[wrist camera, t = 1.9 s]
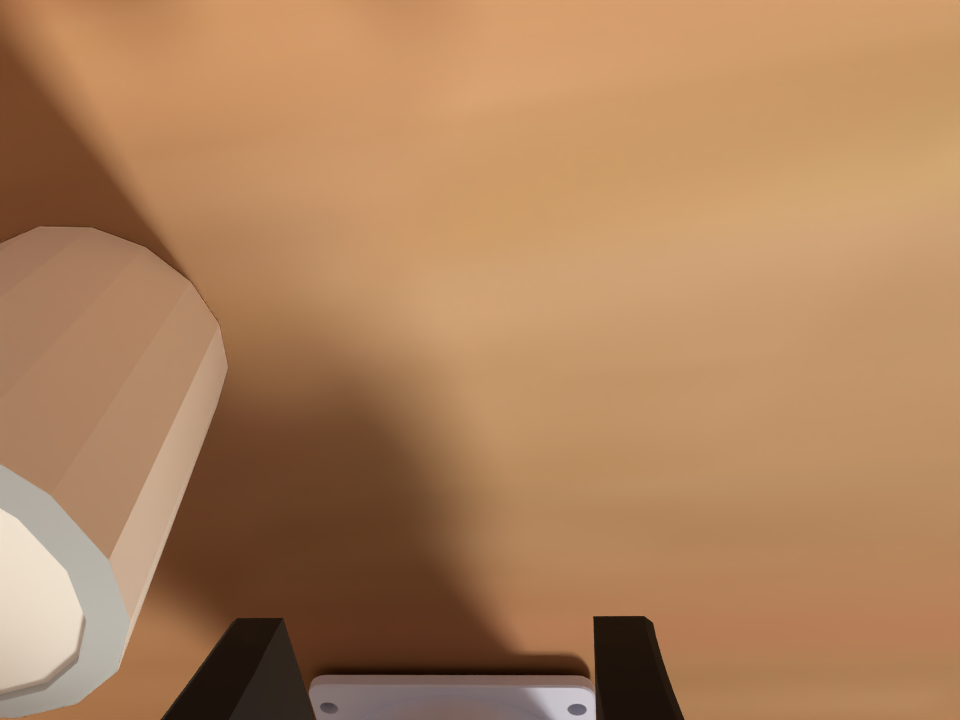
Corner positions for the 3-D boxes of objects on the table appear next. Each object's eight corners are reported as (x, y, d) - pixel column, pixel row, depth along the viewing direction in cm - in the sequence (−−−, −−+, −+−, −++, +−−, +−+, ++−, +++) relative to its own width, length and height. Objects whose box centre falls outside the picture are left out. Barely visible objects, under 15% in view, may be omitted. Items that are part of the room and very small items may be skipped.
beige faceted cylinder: (-92, 372, 20) (-357, 616, 14) (-12, 129, 17) (-321, 317, 11) (186, 505, 22) (50, 772, 16) (309, 310, 18) (194, 557, 12)
